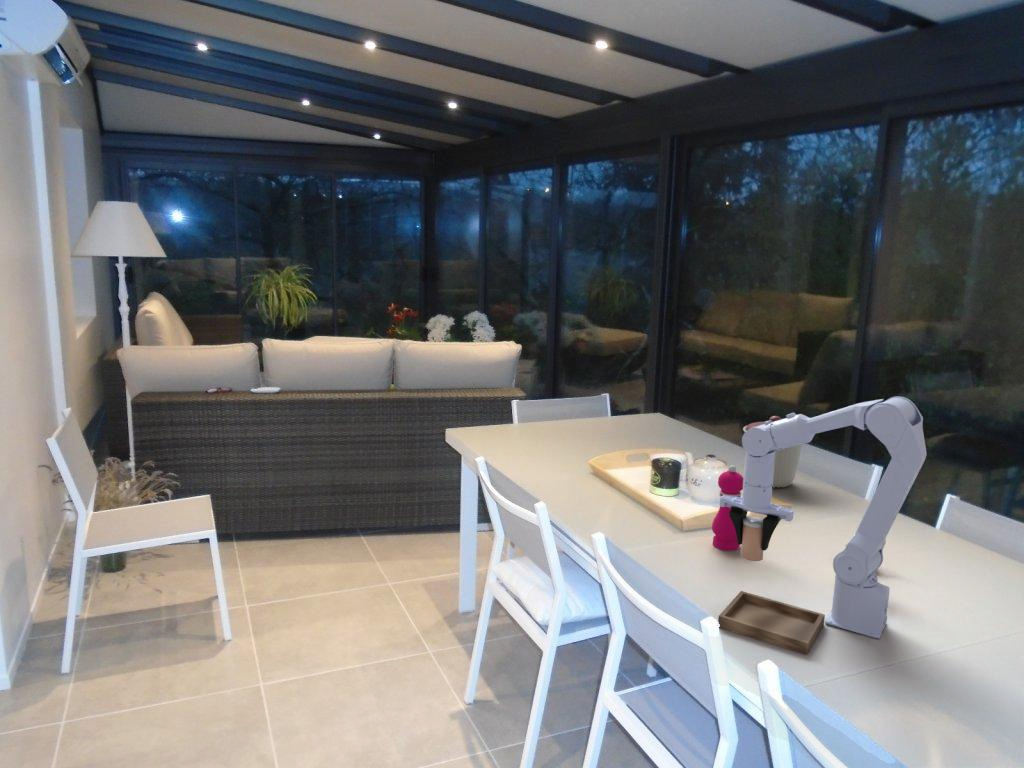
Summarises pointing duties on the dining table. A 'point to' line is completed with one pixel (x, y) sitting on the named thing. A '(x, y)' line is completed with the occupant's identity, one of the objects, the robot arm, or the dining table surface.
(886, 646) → the dining table surface
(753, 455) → the robot arm
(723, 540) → the pepper mill
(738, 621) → the walnut tray
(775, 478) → the canister
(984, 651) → the dining table surface
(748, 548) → the terracotta shaker
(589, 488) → the dining table surface
